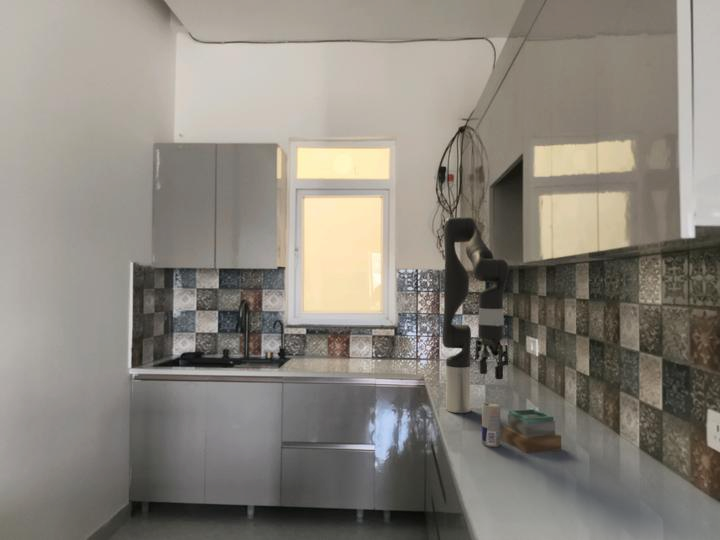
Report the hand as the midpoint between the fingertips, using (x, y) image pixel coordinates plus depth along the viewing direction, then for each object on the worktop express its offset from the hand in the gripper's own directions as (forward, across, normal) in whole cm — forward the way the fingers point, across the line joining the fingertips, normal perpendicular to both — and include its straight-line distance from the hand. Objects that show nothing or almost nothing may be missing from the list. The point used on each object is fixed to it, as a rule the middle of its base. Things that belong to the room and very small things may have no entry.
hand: (490, 376), depth 137 cm
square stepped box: (+20, +3, +12) cm, 24 cm away
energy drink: (+21, 0, 0) cm, 21 cm away
